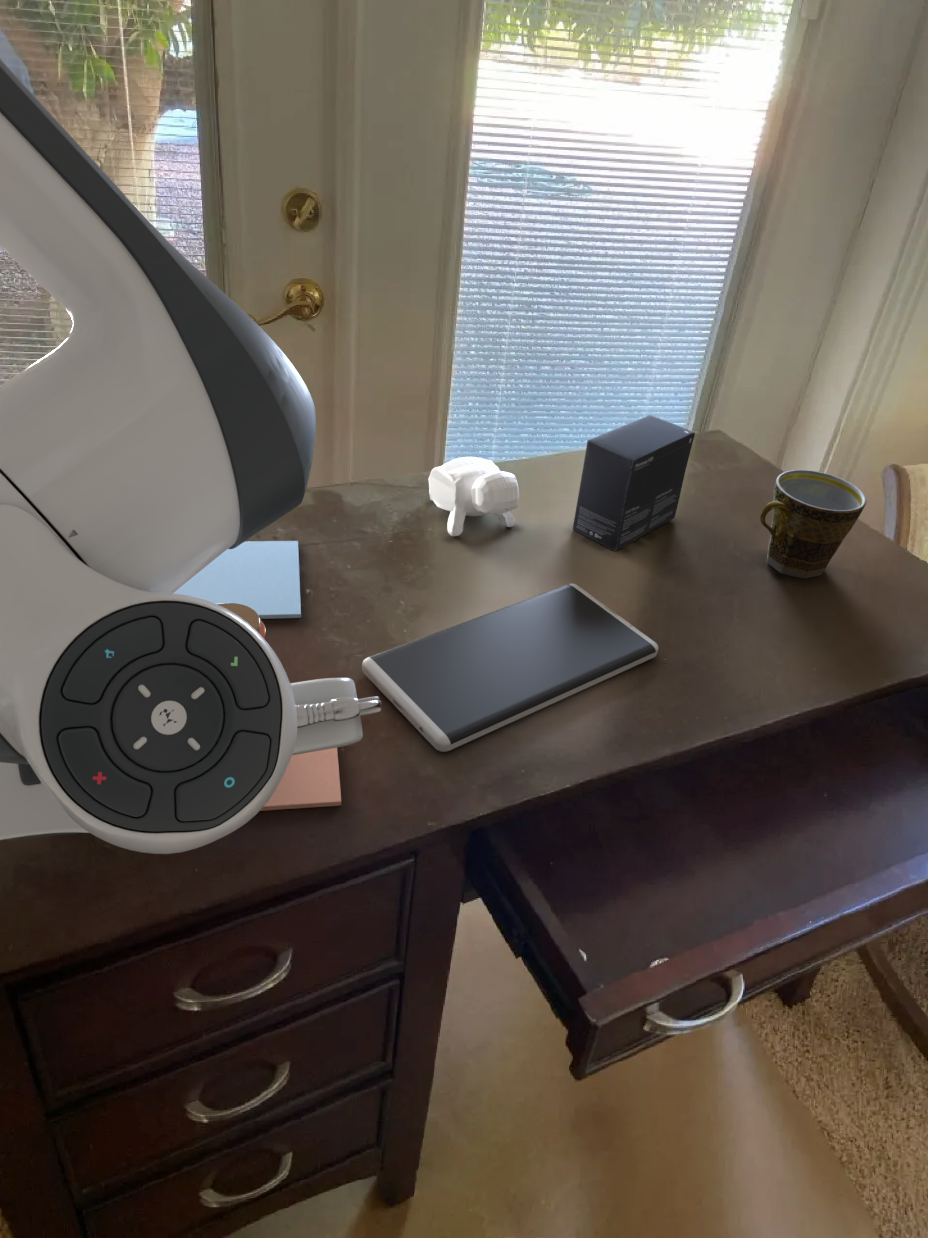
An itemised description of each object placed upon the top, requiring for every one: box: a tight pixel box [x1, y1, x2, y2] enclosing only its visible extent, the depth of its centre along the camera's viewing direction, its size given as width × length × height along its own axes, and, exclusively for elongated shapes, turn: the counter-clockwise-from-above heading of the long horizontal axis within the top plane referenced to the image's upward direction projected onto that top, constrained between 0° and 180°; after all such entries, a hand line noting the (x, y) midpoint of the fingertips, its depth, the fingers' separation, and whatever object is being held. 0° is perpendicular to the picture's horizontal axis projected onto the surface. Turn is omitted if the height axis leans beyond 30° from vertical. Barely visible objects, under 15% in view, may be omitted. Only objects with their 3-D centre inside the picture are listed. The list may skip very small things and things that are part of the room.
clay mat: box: [259, 747, 342, 812], centre depth 73 cm, size 20×14×1 cm
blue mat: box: [173, 540, 302, 620], centre depth 92 cm, size 20×14×1 cm
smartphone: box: [361, 583, 659, 753], centre depth 85 cm, size 13×27×2 cm, turn 127°
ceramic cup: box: [759, 469, 867, 580], centre depth 103 cm, size 13×10×10 cm
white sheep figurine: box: [427, 456, 520, 537], centre depth 105 cm, size 8×8×15 cm
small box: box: [572, 414, 696, 552], centre depth 107 cm, size 13×7×12 cm, turn 136°
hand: (174, 745), depth 54 cm, fingers open, 8 cm apart
